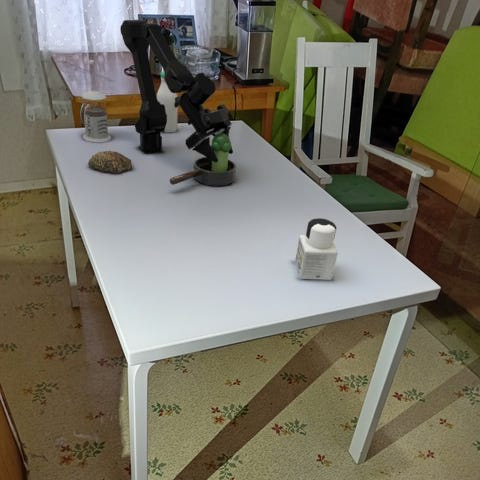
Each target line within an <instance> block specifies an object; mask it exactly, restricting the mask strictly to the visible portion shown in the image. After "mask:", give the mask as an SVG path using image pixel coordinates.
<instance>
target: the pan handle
mask: <svg viewBox="0 0 480 480" xmlns="http://www.w3.org/2000/svg"><path fill="white" fill-rule="evenodd" d="M200 175H202V170H201V169H196V170H190V171H188V172H184V173H182V174H178V175H176V176H173V177H171V178H170V179H169V183H170V185H173V186H175V185H177V184H180V183H182V182H186V181H189V180H191V179H195V178H194V177H197V176H200Z"/></svg>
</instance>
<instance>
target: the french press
mask: <svg viewBox="0 0 480 480" xmlns="http://www.w3.org/2000/svg"><path fill="white" fill-rule="evenodd" d="M88 65H90V66H91V67H93V65H95V60H93V59H89V60H88ZM93 73H94V71H93V70H91V78H92V81H94V74H93ZM94 86H95V85H94V83H92V90H90V91H86V92H84V93H83V94H81V98H82V99H83V100H84V101H89V102H93V104H94V105H90V103H87V105H86V102H84V103H82V105H81V106H80V107H81V108H80V113H79V114H80V120H81V123H82V124H83V125H84V132H85V133H84V134H83V135H82V139H83V140H84V141H87V142H90V143H91V142H92V143H104V142H105V143H106V142H108V141H109V142H110V140H112V136H111V135H110V133H109V129H108V128H109V125H108V113H107V112H106V111H107V109H106V108H105V107H104V106H101V105H96V102H101V101H105V100H106V99H107V96H106V95H105V94H104V93H103V92H100V91H97V90H95V87H94ZM83 106H85V107H84V109H83ZM83 110H84V112H83V119H82V111H83Z"/></svg>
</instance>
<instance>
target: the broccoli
mask: <svg viewBox="0 0 480 480" xmlns="http://www.w3.org/2000/svg"><path fill="white" fill-rule="evenodd" d="M210 146H211V147H212V149H213V151H214V153H215V155H216V156H217V159H218V162H216V163H215V162H213V161H212V172H227V165H228V160H229V151H230V149H231V146H232V142H231V139H230V136H229V137H228V136H227V135H226V134H223V133H219V134H217V135H215V137H214V136H213V138H212V140H211V144H210Z"/></svg>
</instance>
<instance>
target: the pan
mask: <svg viewBox="0 0 480 480" xmlns="http://www.w3.org/2000/svg"><path fill="white" fill-rule="evenodd" d="M196 169H201V170H202V175H200V176H197V177H194V178H193V179H194V180H196V181H197V182H198V183H201V184H203V185H206V186H213V187H221V186H222V187H224V186H228V185H229V184H233V183H234V182H235V181H236V175H237V163H235V162H234V161H233V160H231V159H228V165H227V172H212V160H210V159H209V158H207V157H206V156H202V157H199V158H196V159H195V160H194V162H193V170H196ZM193 170H192V171H193Z"/></svg>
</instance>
